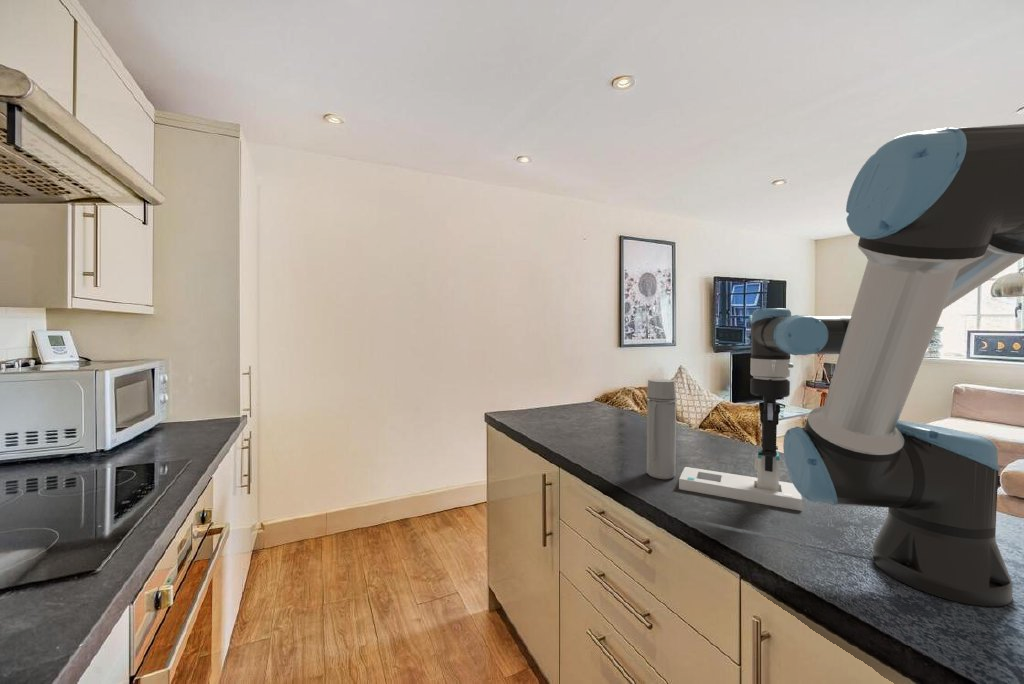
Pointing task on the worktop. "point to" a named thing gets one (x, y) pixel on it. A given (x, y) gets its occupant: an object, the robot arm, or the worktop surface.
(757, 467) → the plug
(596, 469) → the worktop surface
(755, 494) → the panel
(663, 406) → the water bottle
